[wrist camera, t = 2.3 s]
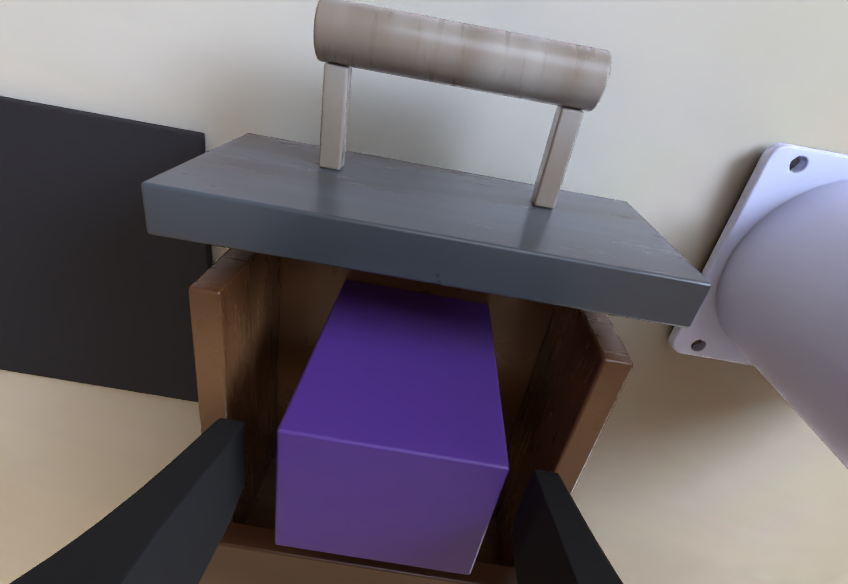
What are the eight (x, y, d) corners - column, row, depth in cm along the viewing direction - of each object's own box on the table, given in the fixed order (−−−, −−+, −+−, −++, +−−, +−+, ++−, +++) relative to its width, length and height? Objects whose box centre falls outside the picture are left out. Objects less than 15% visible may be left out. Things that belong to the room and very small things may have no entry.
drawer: (244, -17, 13) (108, -51, 8) (680, 66, 13) (820, 85, 8) (252, 436, 21) (188, 561, 16) (519, 479, 22) (538, 615, 17)
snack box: (489, 303, 16) (510, 469, 10) (465, 392, 18) (470, 576, 12) (345, 278, 16) (275, 430, 10) (336, 370, 18) (274, 545, 12)
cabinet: (245, 373, 21) (146, 532, 14) (546, 423, 21) (587, 602, 14) (250, 565, 28) (185, 732, 21) (475, 600, 28) (482, 775, 22)
